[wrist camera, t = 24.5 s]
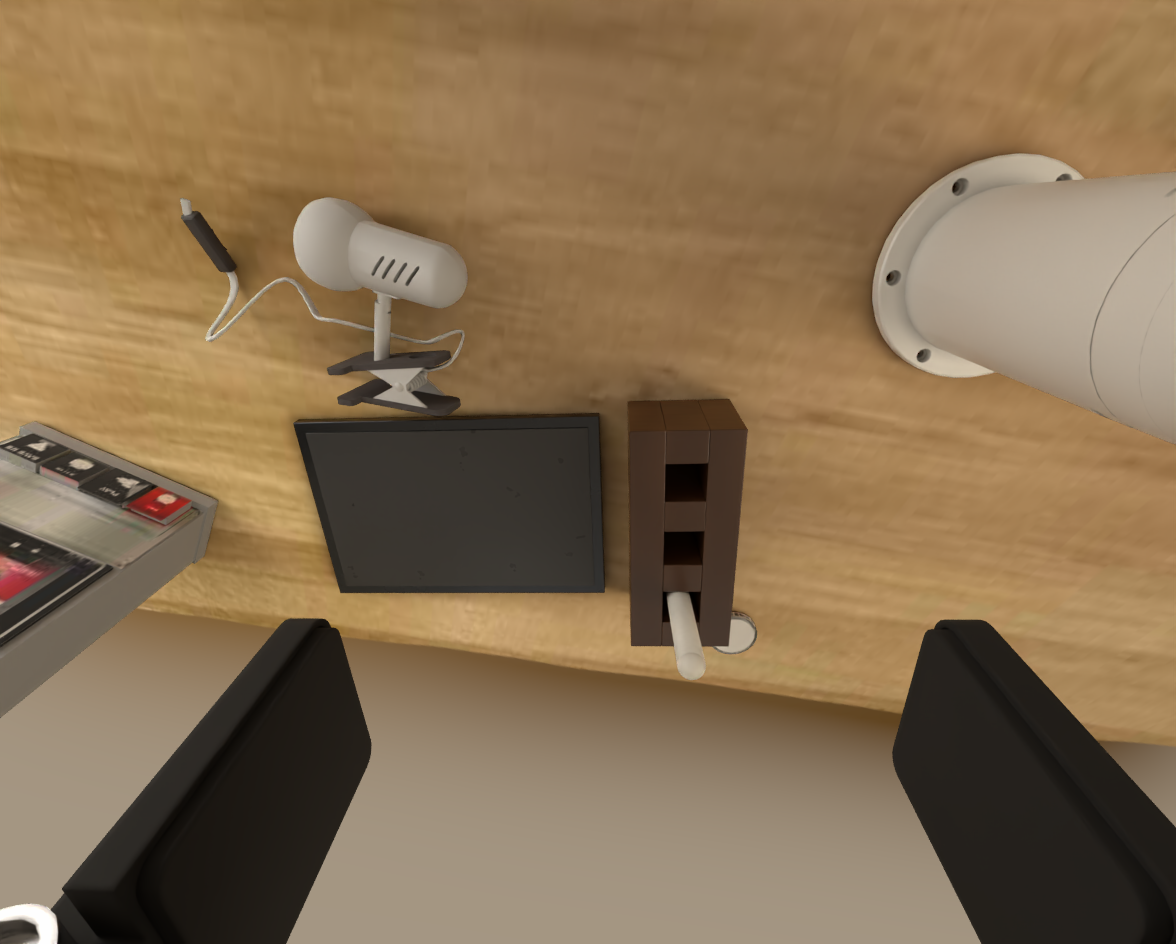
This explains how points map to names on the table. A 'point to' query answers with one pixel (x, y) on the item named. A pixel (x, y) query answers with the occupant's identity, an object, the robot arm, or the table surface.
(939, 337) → the robot arm
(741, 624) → the white flat rimmed disc
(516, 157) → the table surface
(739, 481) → the pen rack
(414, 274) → the clip-on lamp
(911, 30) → the table surface
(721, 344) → the table surface
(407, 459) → the tablet
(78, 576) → the upright grey box
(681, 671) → the stylus
